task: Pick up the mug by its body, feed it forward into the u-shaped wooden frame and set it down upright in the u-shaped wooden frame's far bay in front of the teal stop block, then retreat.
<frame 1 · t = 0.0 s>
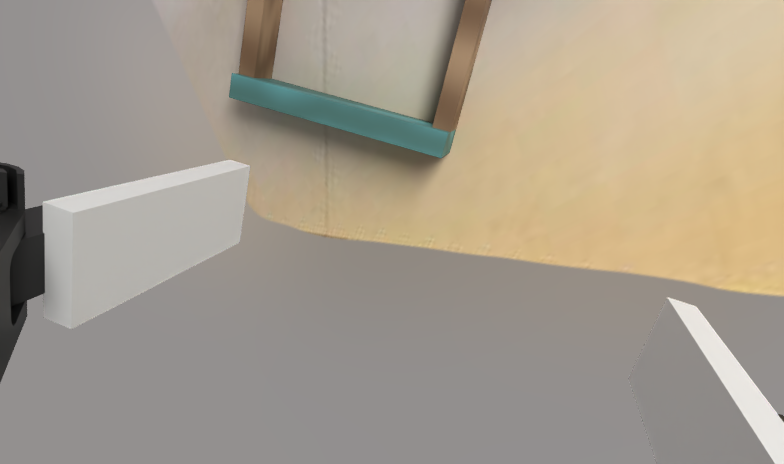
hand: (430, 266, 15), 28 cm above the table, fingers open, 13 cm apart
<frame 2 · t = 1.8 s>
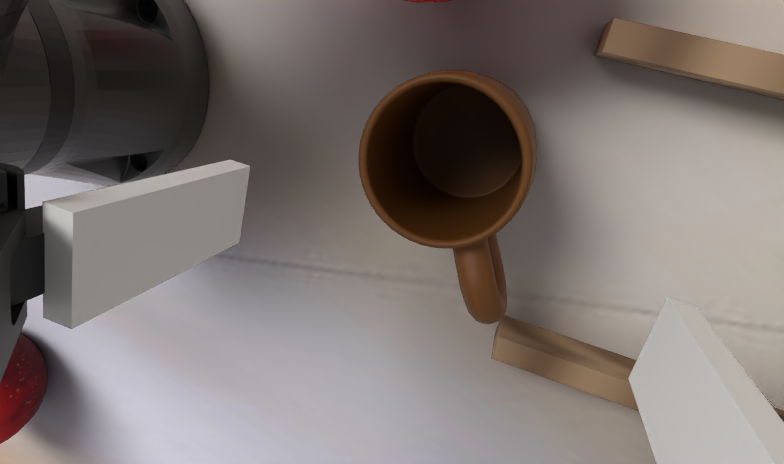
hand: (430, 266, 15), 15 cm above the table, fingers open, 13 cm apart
mug: (478, 177, 29), on the table
fruit: (23, 358, 45), on the table
u-shaped wooden frame: (706, 244, 27), on the table
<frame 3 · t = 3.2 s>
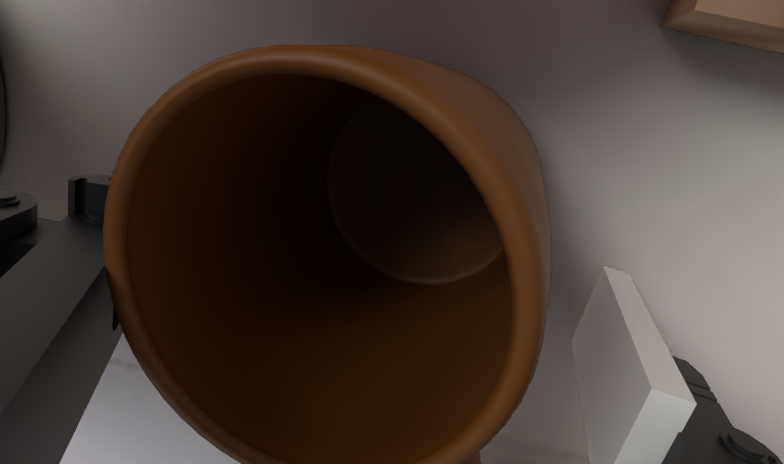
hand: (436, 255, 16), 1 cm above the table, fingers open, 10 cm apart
mug: (442, 247, 17), on the table, touching gripper
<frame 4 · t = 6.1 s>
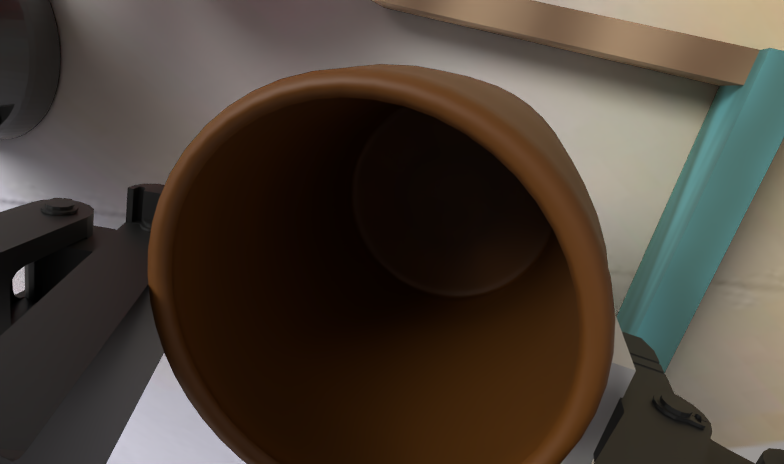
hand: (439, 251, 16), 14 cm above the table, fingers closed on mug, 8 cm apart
mug: (466, 259, 17), point 13 cm above the table, touching gripper
u-shaped wooden frame: (496, 185, 29), on the table
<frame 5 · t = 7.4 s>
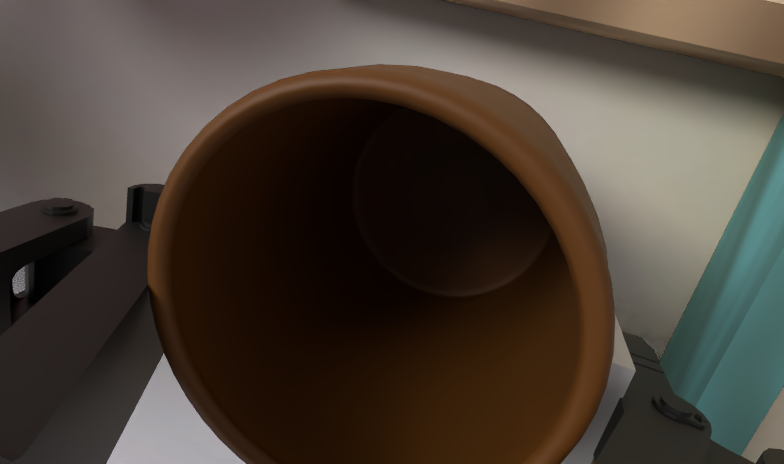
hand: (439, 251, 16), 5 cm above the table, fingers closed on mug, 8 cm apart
mug: (466, 259, 17), point 5 cm above the table, touching gripper
u-shaped wooden frame: (479, 218, 21), on the table
when the fingers open (2 cm above the table, at t = 8.6 s): mug drops 1 cm, on the table.
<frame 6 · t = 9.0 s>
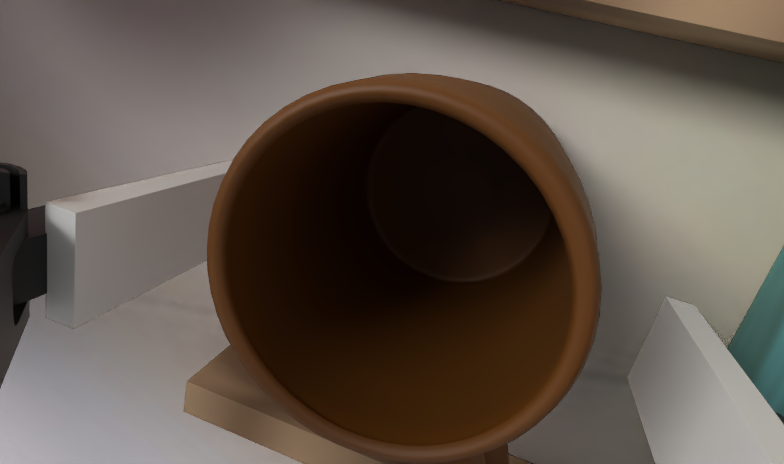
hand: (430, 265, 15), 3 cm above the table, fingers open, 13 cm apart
mug: (470, 248, 18), on the table
u-shaped wooden frame: (473, 245, 18), on the table
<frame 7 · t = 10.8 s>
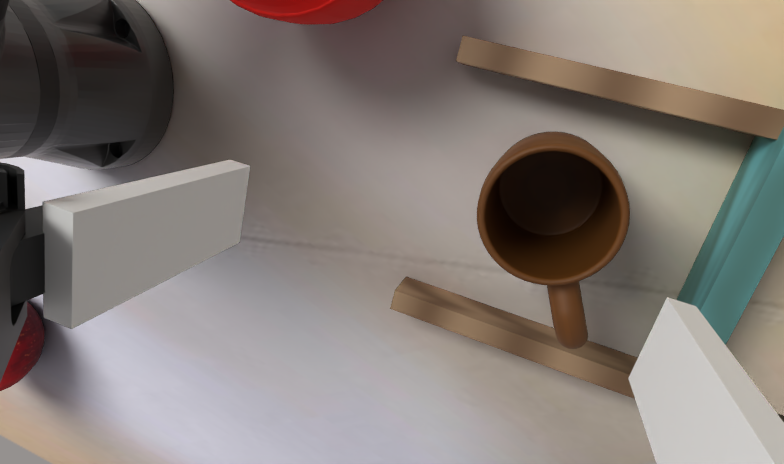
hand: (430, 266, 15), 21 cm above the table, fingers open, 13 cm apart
mug: (554, 217, 34), on the table
fruit: (25, 322, 53), on the table
u-shaped wooden frame: (557, 215, 33), on the table
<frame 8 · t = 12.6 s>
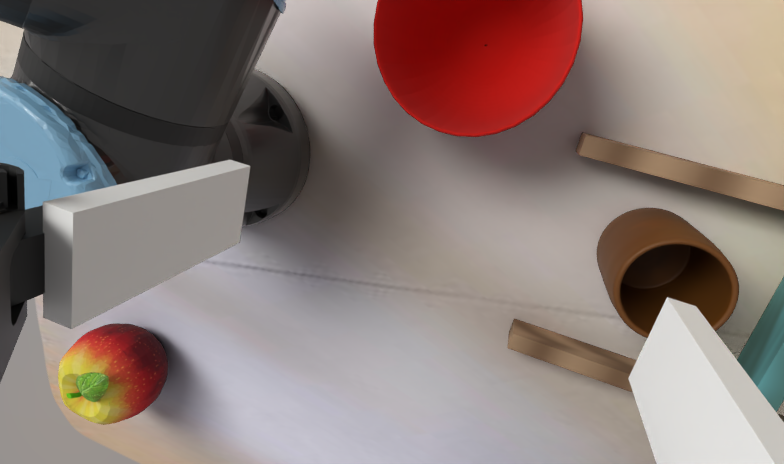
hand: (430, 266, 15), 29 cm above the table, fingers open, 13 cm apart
mug: (647, 273, 41), on the table
fruit: (146, 351, 59), on the table
red bowl: (485, 19, 39), on the table
u-shaped wooden frame: (649, 272, 41), on the table
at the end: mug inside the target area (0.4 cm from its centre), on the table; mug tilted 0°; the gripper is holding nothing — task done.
